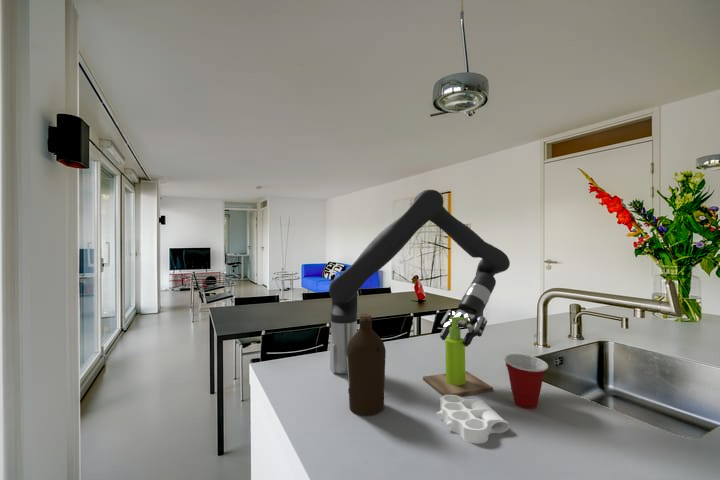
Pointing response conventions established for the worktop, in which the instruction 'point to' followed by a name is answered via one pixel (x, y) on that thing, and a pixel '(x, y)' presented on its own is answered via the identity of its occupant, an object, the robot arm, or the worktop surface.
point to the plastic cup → (525, 378)
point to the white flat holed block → (470, 418)
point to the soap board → (470, 387)
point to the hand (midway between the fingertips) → (453, 341)
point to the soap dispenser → (455, 354)
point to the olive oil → (366, 369)
